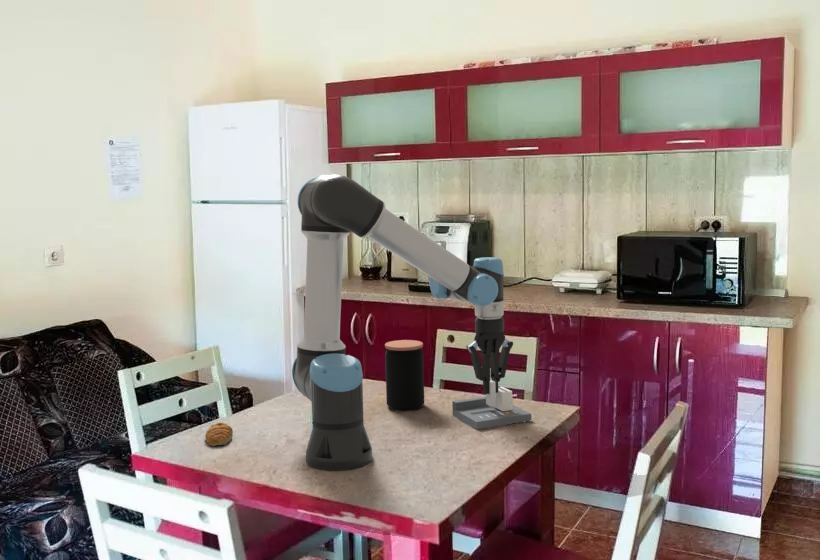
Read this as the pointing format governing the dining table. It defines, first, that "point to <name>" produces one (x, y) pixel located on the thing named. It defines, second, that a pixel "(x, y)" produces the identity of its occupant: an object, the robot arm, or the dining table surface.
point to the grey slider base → (486, 413)
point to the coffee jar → (404, 375)
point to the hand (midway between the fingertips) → (490, 405)
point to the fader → (503, 399)
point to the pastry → (219, 434)
